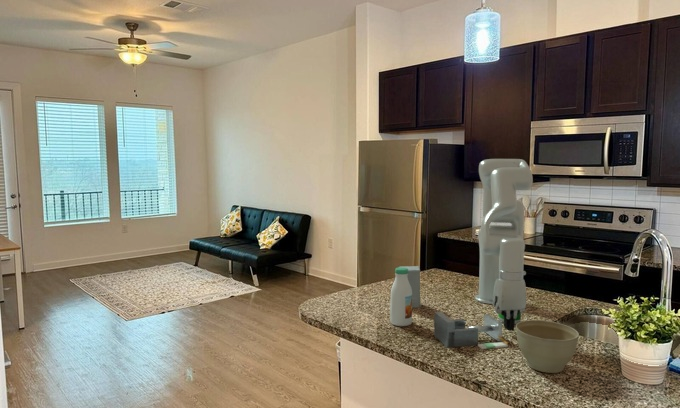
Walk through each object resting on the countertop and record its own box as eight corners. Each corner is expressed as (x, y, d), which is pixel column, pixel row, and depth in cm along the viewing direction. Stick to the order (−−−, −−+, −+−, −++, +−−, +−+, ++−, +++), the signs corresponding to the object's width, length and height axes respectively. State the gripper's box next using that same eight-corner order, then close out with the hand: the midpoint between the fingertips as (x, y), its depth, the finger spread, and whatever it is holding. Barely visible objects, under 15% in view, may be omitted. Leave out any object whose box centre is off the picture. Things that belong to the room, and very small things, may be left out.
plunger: (487, 330, 156) (487, 313, 156) (508, 346, 143) (509, 327, 143) (462, 333, 154) (462, 315, 154) (482, 348, 141) (482, 329, 141)
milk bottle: (398, 328, 160) (398, 271, 158) (386, 321, 167) (386, 267, 165) (416, 324, 163) (417, 269, 161) (403, 318, 170) (404, 265, 168)
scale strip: (503, 343, 146) (503, 341, 146) (508, 346, 143) (508, 344, 143) (477, 346, 144) (477, 344, 144) (481, 349, 142) (481, 347, 142)
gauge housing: (462, 333, 155) (463, 310, 154) (477, 344, 145) (478, 320, 144) (434, 335, 153) (434, 312, 152) (447, 347, 143) (447, 322, 142)
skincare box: (419, 303, 188) (419, 265, 186) (420, 309, 181) (421, 269, 179) (398, 302, 188) (398, 265, 187) (399, 308, 181) (399, 269, 180)
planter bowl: (590, 375, 124) (592, 336, 123) (541, 383, 120) (542, 343, 119) (548, 351, 140) (549, 317, 139) (502, 358, 135) (504, 322, 134)
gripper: (524, 271, 156) (522, 323, 158) (484, 273, 153) (482, 327, 155) (538, 276, 149) (535, 331, 151) (496, 279, 146) (494, 335, 147)
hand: (509, 329), depth 153 cm, fingers closed
